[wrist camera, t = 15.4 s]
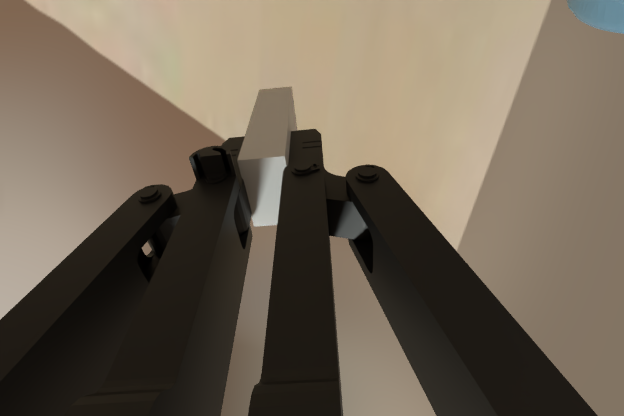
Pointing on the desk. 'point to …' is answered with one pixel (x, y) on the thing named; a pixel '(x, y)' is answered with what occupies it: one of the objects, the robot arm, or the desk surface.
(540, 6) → the desk surface
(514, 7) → the desk surface
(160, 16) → the desk surface
